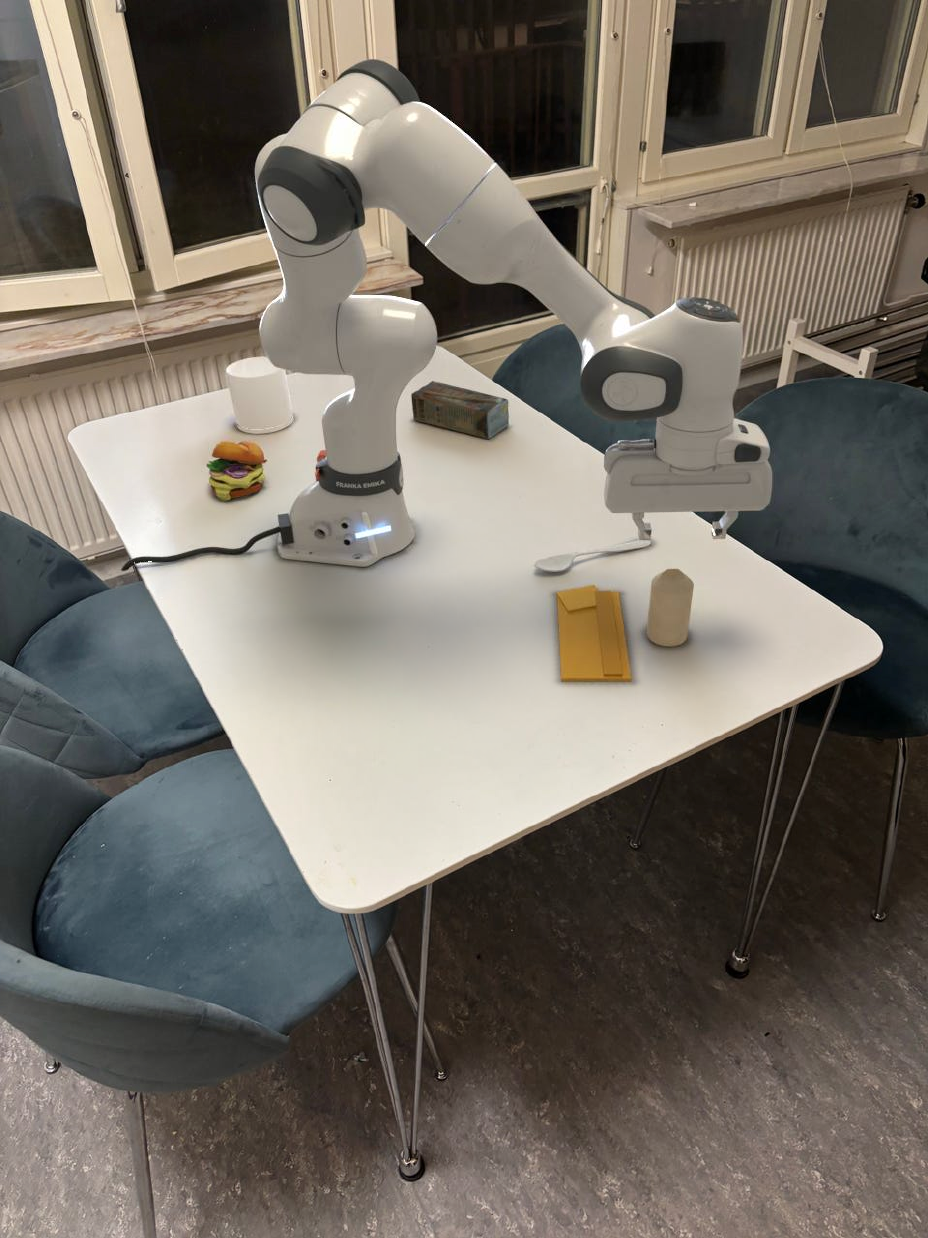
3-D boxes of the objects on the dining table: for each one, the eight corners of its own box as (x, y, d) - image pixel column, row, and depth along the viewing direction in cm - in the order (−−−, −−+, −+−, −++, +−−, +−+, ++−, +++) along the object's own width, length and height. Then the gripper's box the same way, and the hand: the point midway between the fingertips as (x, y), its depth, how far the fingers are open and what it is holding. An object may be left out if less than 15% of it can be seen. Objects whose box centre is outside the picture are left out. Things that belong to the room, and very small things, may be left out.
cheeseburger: (196, 498, 163) (192, 442, 159) (231, 485, 172) (228, 432, 169) (244, 505, 160) (240, 449, 156) (277, 492, 169) (275, 438, 165)
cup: (239, 413, 194) (228, 358, 187) (294, 408, 195) (285, 354, 188) (234, 436, 185) (222, 379, 178) (291, 431, 186) (282, 374, 178)
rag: (560, 681, 118) (560, 675, 118) (555, 589, 135) (556, 584, 135) (631, 681, 117) (631, 676, 117) (617, 589, 135) (617, 584, 134)
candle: (687, 648, 122) (695, 587, 117) (645, 645, 123) (651, 584, 118) (687, 625, 127) (695, 564, 121) (647, 621, 128) (653, 561, 122)
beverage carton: (488, 441, 178) (487, 409, 174) (410, 421, 187) (408, 391, 183) (510, 426, 183) (509, 395, 179) (433, 408, 192) (431, 378, 188)
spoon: (528, 567, 140) (528, 558, 139) (643, 536, 146) (643, 527, 145) (540, 580, 137) (540, 571, 136) (657, 548, 143) (658, 539, 142)
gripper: (607, 452, 107) (601, 552, 115) (784, 448, 106) (765, 549, 114) (602, 429, 112) (597, 526, 120) (771, 425, 111) (754, 523, 119)
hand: (680, 537), depth 117 cm, fingers open, 8 cm apart
